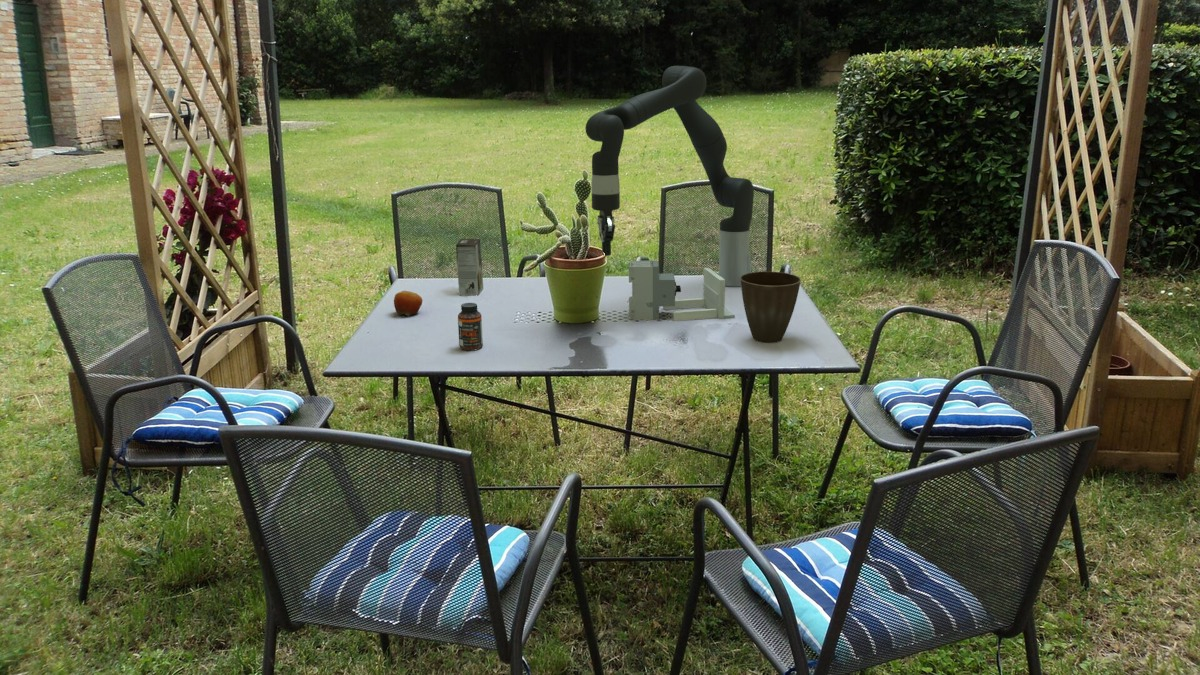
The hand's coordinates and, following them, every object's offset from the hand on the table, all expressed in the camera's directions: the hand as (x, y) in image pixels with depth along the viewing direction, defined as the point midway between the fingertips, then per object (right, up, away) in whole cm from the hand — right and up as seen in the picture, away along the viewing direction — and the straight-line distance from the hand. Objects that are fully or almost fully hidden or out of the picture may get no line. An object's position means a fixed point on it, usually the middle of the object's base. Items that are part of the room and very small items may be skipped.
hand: (606, 255), depth 252 cm
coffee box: (-42, -9, +37) cm, 57 cm away
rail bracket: (+26, -15, +10) cm, 32 cm away
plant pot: (+41, -23, -15) cm, 50 cm away
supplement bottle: (-34, -25, -17) cm, 46 cm away
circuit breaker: (+14, -17, +8) cm, 23 cm away
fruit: (-57, -16, +14) cm, 61 cm away
